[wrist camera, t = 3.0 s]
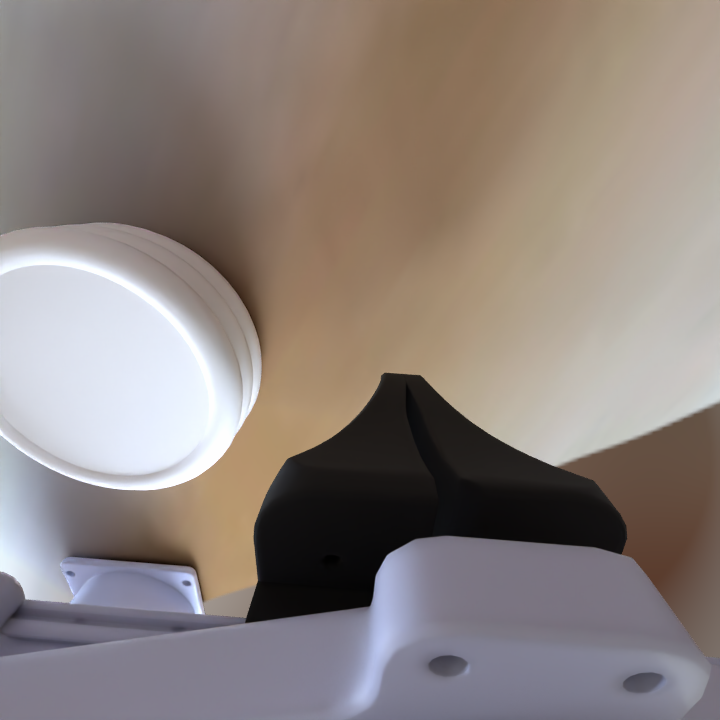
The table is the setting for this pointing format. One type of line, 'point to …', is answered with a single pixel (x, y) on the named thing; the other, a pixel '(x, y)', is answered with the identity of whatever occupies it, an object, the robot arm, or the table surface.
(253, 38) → the table surface
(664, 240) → the table surface
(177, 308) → the white round dish
